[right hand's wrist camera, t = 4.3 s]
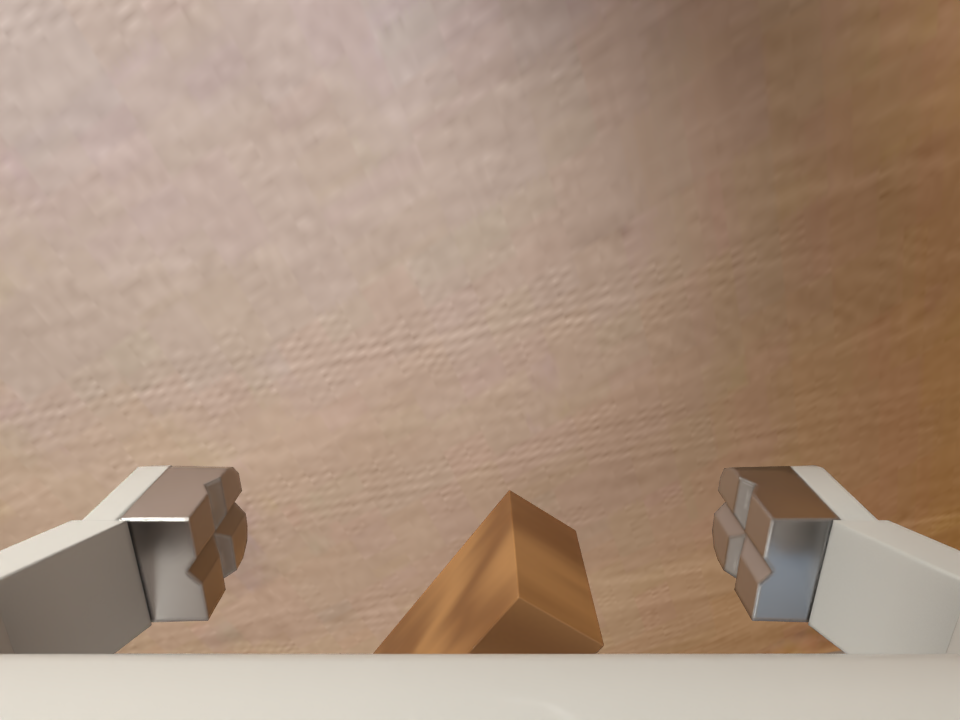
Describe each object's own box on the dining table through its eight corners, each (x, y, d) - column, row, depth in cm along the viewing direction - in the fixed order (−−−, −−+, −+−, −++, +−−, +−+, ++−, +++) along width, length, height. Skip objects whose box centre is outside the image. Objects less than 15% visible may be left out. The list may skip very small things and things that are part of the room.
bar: (509, 489, 32) (518, 596, 24) (576, 530, 33) (604, 645, 25) (297, 743, 38) (253, 890, 31) (358, 772, 39) (329, 921, 32)
